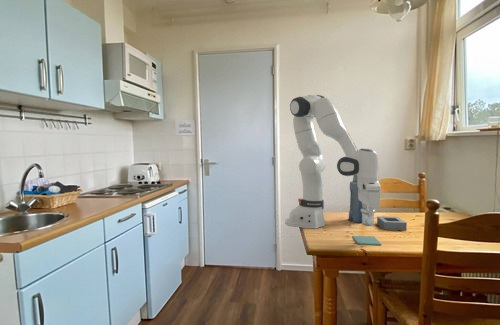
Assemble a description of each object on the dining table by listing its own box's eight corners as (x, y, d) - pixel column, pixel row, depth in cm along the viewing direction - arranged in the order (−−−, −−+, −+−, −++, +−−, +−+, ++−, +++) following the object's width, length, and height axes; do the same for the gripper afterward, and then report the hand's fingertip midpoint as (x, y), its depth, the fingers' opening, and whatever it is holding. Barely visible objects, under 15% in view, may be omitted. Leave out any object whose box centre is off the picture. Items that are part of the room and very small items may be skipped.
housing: (384, 229, 142) (384, 222, 142) (377, 223, 153) (377, 216, 153) (406, 230, 141) (406, 222, 141) (397, 224, 152) (397, 217, 152)
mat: (358, 244, 122) (358, 243, 122) (352, 236, 131) (352, 235, 131) (381, 245, 120) (381, 244, 120) (373, 237, 130) (373, 236, 130)
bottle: (347, 218, 164) (348, 169, 162) (364, 218, 163) (365, 169, 161) (350, 222, 155) (351, 170, 153) (368, 223, 153) (369, 171, 151)
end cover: (362, 226, 122) (362, 211, 122) (359, 222, 128) (359, 208, 128) (377, 226, 122) (377, 211, 121) (372, 222, 128) (372, 208, 127)
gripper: (354, 181, 135) (354, 208, 135) (367, 187, 114) (367, 219, 115) (367, 181, 134) (367, 208, 135) (382, 187, 114) (382, 219, 114)
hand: (367, 213), depth 125 cm, fingers closed on end cover, 6 cm apart
